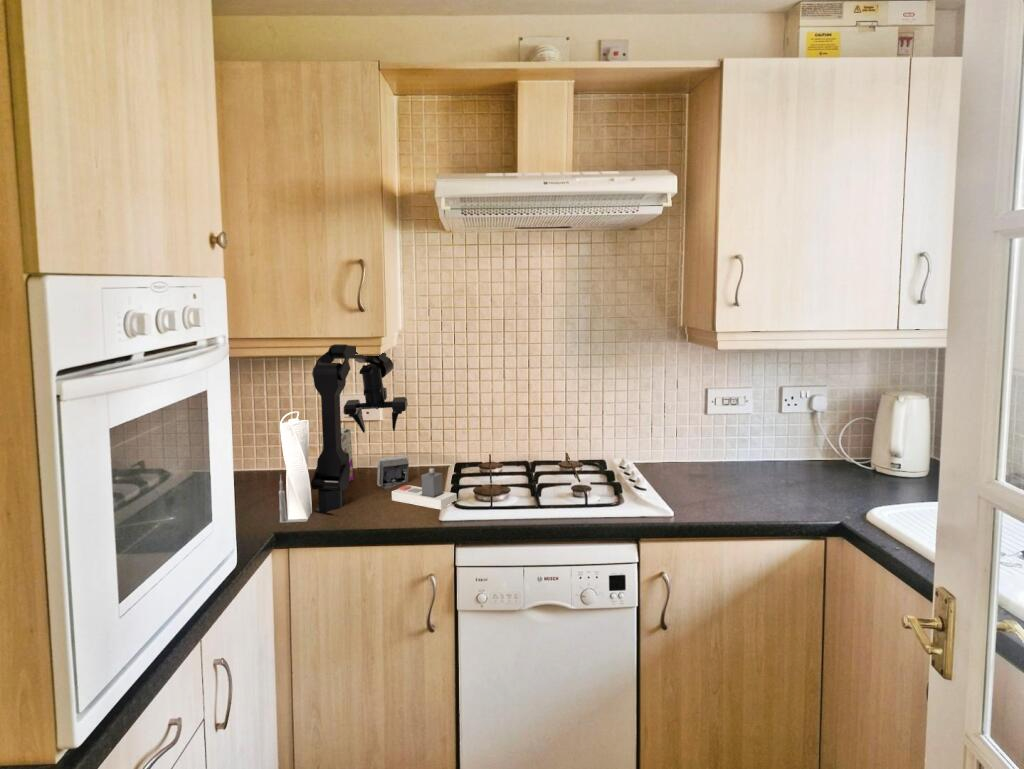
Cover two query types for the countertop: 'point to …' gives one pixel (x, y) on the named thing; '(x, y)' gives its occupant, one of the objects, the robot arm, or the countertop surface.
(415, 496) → the power strip
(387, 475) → the electrical switch
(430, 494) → the block
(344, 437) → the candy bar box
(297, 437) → the skyscraper
